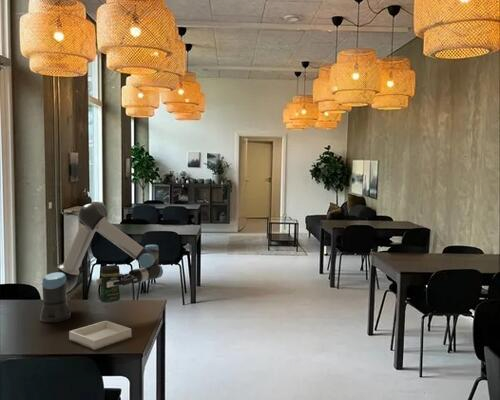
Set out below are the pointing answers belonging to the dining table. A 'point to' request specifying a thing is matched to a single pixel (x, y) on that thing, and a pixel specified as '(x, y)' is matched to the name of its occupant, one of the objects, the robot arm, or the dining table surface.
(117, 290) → the coffee jar
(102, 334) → the tray
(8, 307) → the dining table surface
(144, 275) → the robot arm
